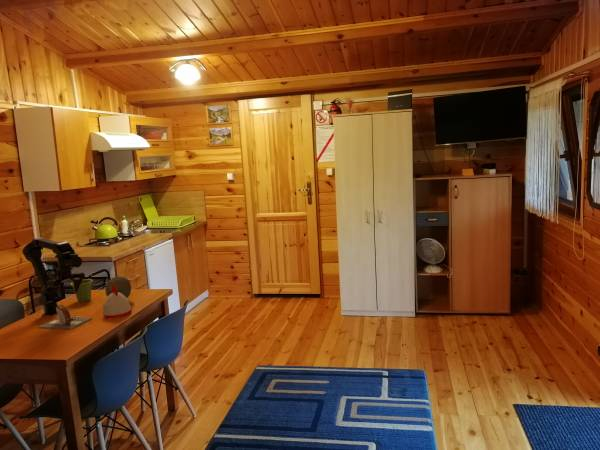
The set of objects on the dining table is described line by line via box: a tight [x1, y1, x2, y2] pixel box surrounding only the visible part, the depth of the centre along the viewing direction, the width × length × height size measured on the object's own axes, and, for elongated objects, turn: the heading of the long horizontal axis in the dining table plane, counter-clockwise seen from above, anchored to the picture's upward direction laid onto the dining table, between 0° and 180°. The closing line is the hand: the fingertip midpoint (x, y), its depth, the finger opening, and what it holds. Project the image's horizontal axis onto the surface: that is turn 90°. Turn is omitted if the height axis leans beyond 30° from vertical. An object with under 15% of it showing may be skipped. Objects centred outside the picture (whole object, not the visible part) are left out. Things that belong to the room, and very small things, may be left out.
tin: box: [56, 304, 72, 325], centre depth 236 cm, size 15×3×8 cm, turn 42°
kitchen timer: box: [102, 286, 132, 319], centre depth 246 cm, size 14×14×15 cm
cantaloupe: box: [105, 276, 132, 299], centre depth 265 cm, size 14×14×15 cm
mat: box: [38, 317, 92, 330], centre depth 237 cm, size 20×14×1 cm
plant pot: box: [70, 278, 94, 303], centre depth 275 cm, size 12×12×11 cm
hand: (68, 295), depth 246 cm, fingers open, 9 cm apart
